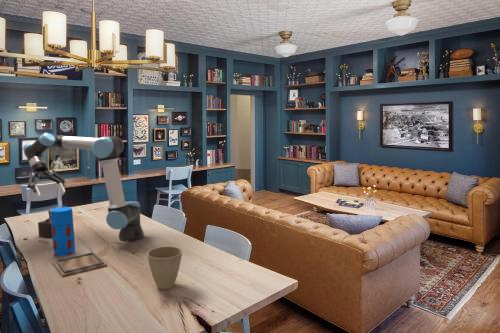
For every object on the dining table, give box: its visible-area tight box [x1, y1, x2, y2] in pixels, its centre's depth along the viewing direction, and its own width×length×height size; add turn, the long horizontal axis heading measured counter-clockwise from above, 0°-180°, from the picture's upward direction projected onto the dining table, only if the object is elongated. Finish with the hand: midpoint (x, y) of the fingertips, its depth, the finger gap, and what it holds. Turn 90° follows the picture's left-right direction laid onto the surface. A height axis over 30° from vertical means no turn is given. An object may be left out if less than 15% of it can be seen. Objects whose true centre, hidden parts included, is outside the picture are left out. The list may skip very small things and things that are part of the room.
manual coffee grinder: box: [37, 205, 68, 239], centre depth 242 cm, size 16×11×18 cm
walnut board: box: [52, 251, 108, 278], centre depth 192 cm, size 21×21×2 cm
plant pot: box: [147, 245, 182, 290], centre depth 166 cm, size 15×15×16 cm
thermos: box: [50, 206, 76, 257], centre depth 208 cm, size 11×11×25 cm
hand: (52, 194), depth 211 cm, fingers open, 13 cm apart
